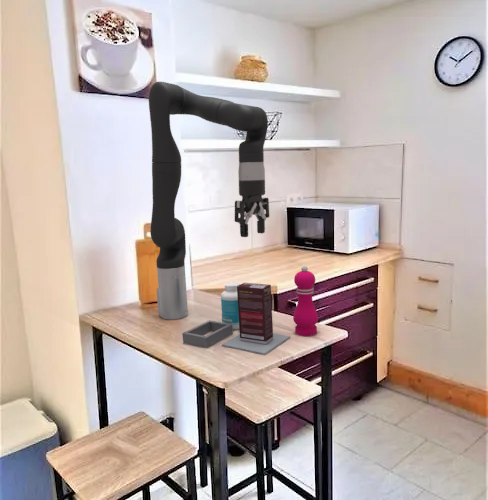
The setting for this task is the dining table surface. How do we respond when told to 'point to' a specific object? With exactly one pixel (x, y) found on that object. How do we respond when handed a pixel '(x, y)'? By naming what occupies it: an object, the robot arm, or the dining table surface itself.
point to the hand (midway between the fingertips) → (253, 234)
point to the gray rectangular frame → (197, 339)
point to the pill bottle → (230, 305)
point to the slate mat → (256, 344)
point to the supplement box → (255, 312)
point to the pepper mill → (305, 304)
